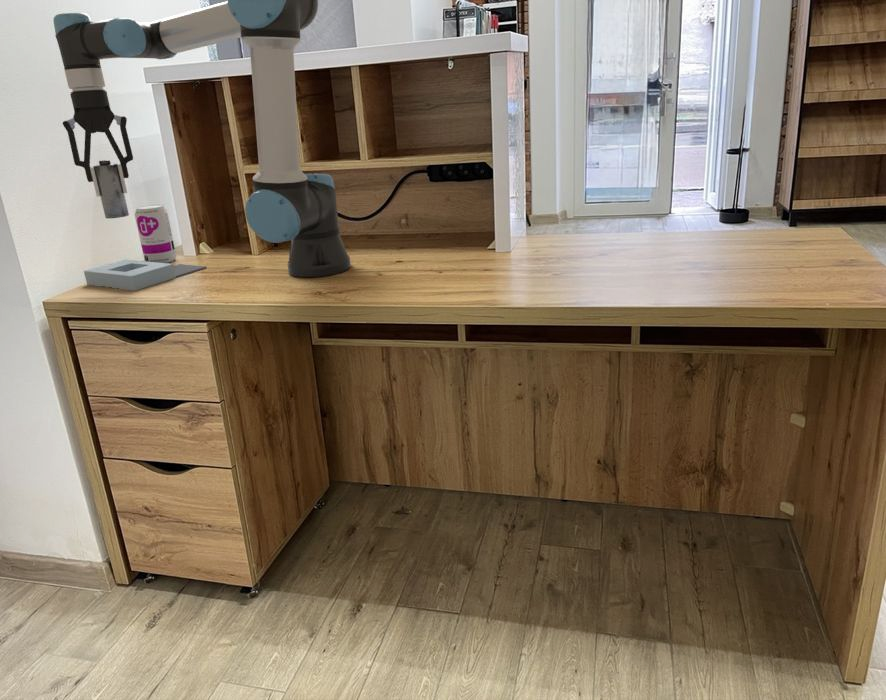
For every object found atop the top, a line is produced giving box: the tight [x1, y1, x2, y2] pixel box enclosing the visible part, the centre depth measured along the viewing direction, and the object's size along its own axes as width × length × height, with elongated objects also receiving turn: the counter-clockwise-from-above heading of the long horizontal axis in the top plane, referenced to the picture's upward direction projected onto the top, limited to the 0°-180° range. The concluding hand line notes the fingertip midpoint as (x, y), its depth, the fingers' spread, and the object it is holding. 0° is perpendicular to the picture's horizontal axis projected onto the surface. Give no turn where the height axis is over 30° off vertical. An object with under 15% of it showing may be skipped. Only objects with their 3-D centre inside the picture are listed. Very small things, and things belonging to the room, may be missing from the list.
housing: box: [83, 259, 176, 292], centre depth 173 cm, size 18×12×4 cm, turn 60°
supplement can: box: [134, 204, 177, 264], centre depth 190 cm, size 8×8×15 cm
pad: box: [173, 263, 207, 279], centre depth 180 cm, size 10×10×1 cm
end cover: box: [92, 159, 130, 219], centre depth 165 cm, size 5×5×13 cm
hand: (112, 194), depth 166 cm, fingers closed on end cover, 5 cm apart
